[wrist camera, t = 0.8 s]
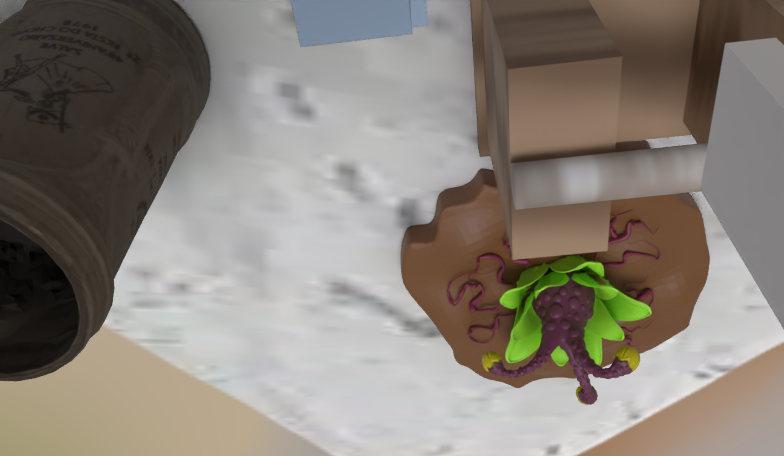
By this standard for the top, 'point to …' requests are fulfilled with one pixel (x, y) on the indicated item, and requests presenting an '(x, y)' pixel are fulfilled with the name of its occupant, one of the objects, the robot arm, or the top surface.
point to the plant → (556, 286)
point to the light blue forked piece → (355, 19)
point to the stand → (598, 105)
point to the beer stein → (83, 159)
